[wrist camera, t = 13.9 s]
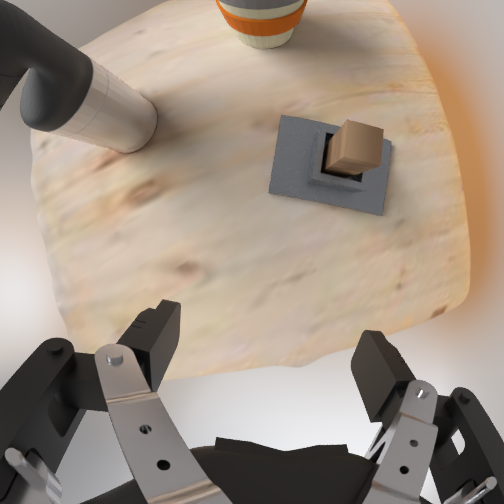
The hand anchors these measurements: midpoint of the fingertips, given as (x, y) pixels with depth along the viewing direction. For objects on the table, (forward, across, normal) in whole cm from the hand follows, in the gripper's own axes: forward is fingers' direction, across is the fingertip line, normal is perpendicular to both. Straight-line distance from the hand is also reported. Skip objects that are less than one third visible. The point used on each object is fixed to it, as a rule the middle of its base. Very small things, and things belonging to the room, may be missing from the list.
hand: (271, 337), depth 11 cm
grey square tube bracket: (+28, -8, -9) cm, 30 cm away
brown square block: (+25, -8, -10) cm, 28 cm away
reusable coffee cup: (+31, +5, -31) cm, 44 cm away
